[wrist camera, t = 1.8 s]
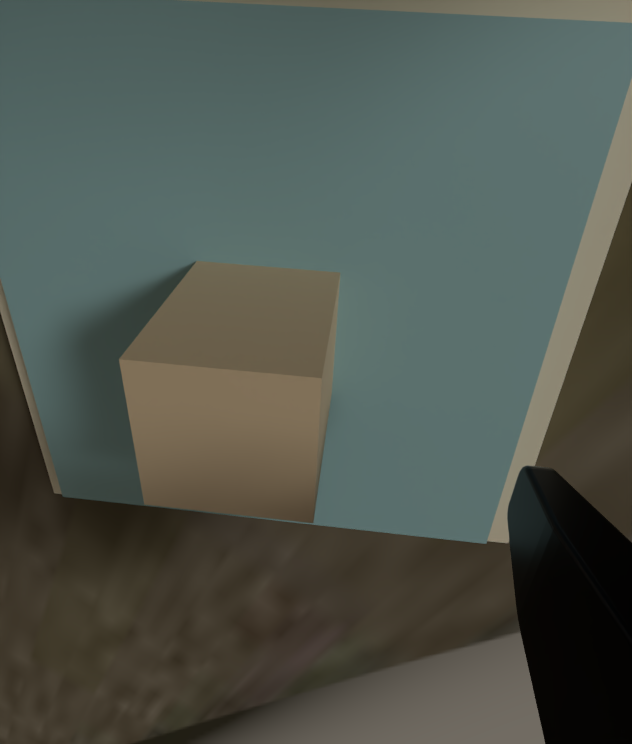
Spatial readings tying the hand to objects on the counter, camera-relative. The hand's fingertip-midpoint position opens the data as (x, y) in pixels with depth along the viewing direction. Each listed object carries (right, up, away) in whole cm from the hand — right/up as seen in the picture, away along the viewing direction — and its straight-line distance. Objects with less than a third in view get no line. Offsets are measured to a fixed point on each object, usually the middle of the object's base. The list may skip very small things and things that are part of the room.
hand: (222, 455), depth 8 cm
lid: (0, +3, +5) cm, 5 cm away
